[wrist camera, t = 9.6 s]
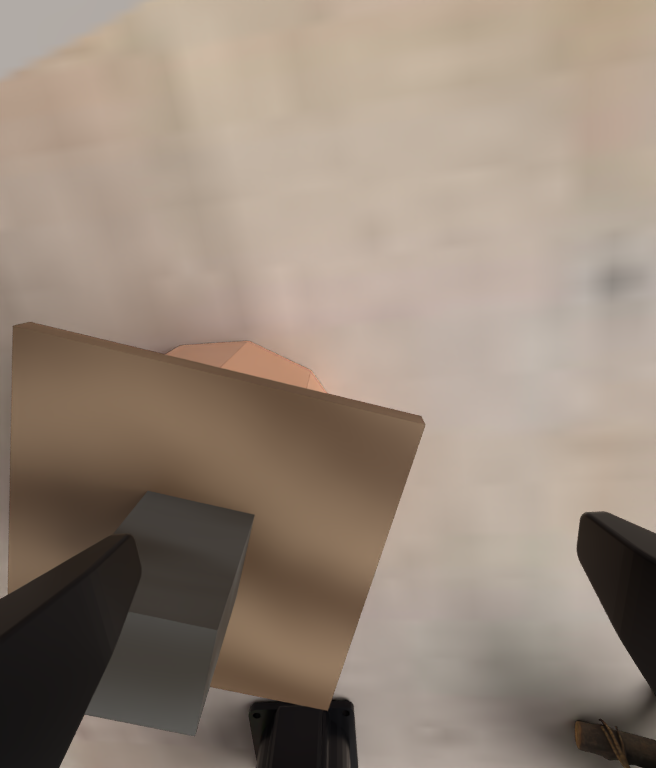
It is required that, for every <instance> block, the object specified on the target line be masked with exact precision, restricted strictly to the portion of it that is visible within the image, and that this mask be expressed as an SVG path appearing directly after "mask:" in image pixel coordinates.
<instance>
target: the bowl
mask: <svg viewBox="0 0 656 768" xmlns="http://www.w3.org/2000/svg"><path fill="white" fill-rule="evenodd" d="M165 355H170V356H174V357H178V358H182V359H186V360H190V361H194V362H199V363H203V364H207V365H211V366H215V367H219V368H224V369H228V370H232V371H236V372H240V373H244V374H248V375H253V376H257V377H261V378H265V379H269V380H273V381H277V382H282V383H286V384H290V385H294V386H298V387H302V388H307V389H311V390H315V391H319V392H323V393H327V392H326V391H325V389H324V388H323V387H322V385H321V384H320V382H319V381H318V379H317V378H316V377H315V375H314V374H313V372H312V371H311V370H309V369H307V368H305V367H303V366H301V365H299V364H297V363H295V362H292V361H290V360H288V359H286V358H284V357H282V356H280V355H278V354H276V353H273V352H271V351H269V350H267V349H265V348H263V347H261V346H259V345H256V344H254V343H252V342H250V341H237V342H222V343H207V344H192V345H180V346H179V347H177V348H175V349H173V350H172V351H170V352H168V353H167V354H165Z"/></svg>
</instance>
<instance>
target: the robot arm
mask: <svg viewBox="0 0 656 768" xmlns="http://www.w3.org/2000/svg"><path fill="white" fill-rule="evenodd" d="M577 555H578V558H579V561H580V563H581V565H582V567H583V569H584V571H585V573H586V575H587V577H588V579H589V581H590V582H591V584H592V586H593V588H594V590H595V592H596V594H597V596H598V598H599V600H600V602H601V604H602V606H603V608H604V610H605V612H606V614H607V616H608V618H609V620H610V622H611V623H612V625H613V627H614V629H615V631H616V633H617V634H618V636H619V638H620V640H621V641H622V643H623V645H624V646H625V648H626V650H627V651H628V653H629V654H630V656H631V657H632V659H633V661H634V662H635V664H636V665H637V667H638V668H639V670H640V672H641V673H642V675H643V676H644V678H645V679H646V681H647V683H648V684H649V686H650V687H651V689H652V690H653V692H654V694H655V695H656V533H654V532H651V531H649V530H647V529H645V528H642V527H640V526H638V525H635V524H633V523H631V522H629V521H626V520H624V519H622V518H619V517H617V516H615V515H613V514H610V513H608V512H604V511H601V512H585V513H584V514H582V516H581V518H580V523H579V532H578V540H577ZM141 574H142V566H141V562H140V558H139V553H138V549H137V545H136V541H135V538H134V537H133V535H131V534H112V535H109V536H108V537H106V538H104V539H102V540H101V541H99V542H97V543H96V544H94V545H92V546H90V547H89V548H87V549H85V550H84V551H82V552H80V553H78V554H77V555H75V556H73V557H72V558H70V559H68V560H66V561H65V562H63V563H61V564H60V565H58V566H56V567H54V568H53V569H51V570H49V571H48V572H46V573H44V574H42V575H41V576H39V577H37V578H36V579H34V580H32V581H30V582H29V583H27V584H25V585H24V586H22V587H20V588H18V589H17V590H15V591H13V592H11V593H10V594H8V595H6V596H5V597H3V598H1V599H0V768H59V767H60V765H61V763H62V761H63V759H64V756H65V754H66V752H67V750H68V748H69V746H70V744H71V742H72V740H73V737H74V735H75V733H76V731H77V729H78V727H79V725H80V723H81V721H82V719H83V716H84V714H85V712H86V710H87V708H88V706H89V704H90V702H91V700H92V697H93V695H94V693H95V691H96V689H97V687H98V685H99V683H100V681H101V679H102V676H103V674H104V672H105V670H106V668H107V666H108V664H109V661H110V659H111V657H112V655H113V652H114V650H115V647H116V645H117V642H118V639H119V637H120V634H121V631H122V629H123V626H124V623H125V620H126V618H127V615H128V612H129V609H130V607H131V604H132V601H133V598H134V596H135V593H136V590H137V587H138V585H139V582H140V579H141ZM249 720H250V726H251V731H252V737H253V743H254V748H255V754H256V760H257V765H256V768H358V757H357V744H356V730H355V717H354V706H353V704H352V703H351V702H349V701H331V703H330V706H329V709H328V711H327V710H322V709H317V708H312V707H307V706H302V705H297V704H292V703H287V702H280V703H255V704H253V705H251V707H250V711H249Z"/></svg>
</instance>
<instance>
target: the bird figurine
mask: <svg viewBox="0 0 656 768" xmlns="http://www.w3.org/2000/svg"><path fill="white" fill-rule="evenodd" d="M600 720H601V721H602V723H603V725H602V724H590V723H586V722H582V721H577V722H576V723H575V740H576V745H577V747H578V749H580V750H583V751H587V752H591V753H595V754H598V755H600V756H603V757H604V758H606V759H608V760H619V761H620V763H621V764H622V766H623V767H624V768H630V766H629V765H636V766H639V767H642V768H656V740H653V739H649V738H645V737H641V736H638V735H635V734H630V733H626V732H622V731H618V729H617V727H616V726H615V727H616V729H617V730H615V729H612V728H609V726H608V725H607V724H606V723H605V722H604V721H603V720H602V719H599V721H600Z"/></svg>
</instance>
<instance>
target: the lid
mask: <svg viewBox="0 0 656 768" xmlns="http://www.w3.org/2000/svg"><path fill="white" fill-rule="evenodd" d="M424 428H425V423H424V421H423V419H422V417H421V416H419V415H415V414H410V413H406V412H402V411H398V410H394V409H390V408H385V407H381V406H377V405H373V404H369V403H365V402H361V401H356V400H352V399H348V398H344V397H340V396H336V395H331V394H327V393H323V392H319V391H315V390H311V389H307V388H302V387H298V386H294V385H290V384H286V383H282V382H277V381H273V380H269V379H265V378H261V377H257V376H253V375H248V374H244V373H240V372H236V371H232V370H228V369H224V368H219V367H215V366H211V365H207V364H203V363H199V362H194V361H190V360H186V359H182V358H178V357H174V356H170V355H165V354H161V353H157V352H153V351H149V350H145V349H140V348H136V347H132V346H128V345H124V344H120V343H116V342H111V341H107V340H103V339H99V338H95V337H91V336H86V335H82V334H78V333H74V332H70V331H66V330H62V329H57V328H53V327H49V326H45V325H41V324H37V323H33V322H28V323H23V324H18V325H14V326H13V347H12V399H11V451H10V503H9V555H8V594H10V593H11V592H13V591H15V590H17V589H18V588H20V587H22V586H24V585H25V584H27V583H29V582H30V581H32V580H34V579H36V578H37V577H39V576H41V575H42V574H44V573H46V572H48V571H49V570H51V569H53V568H54V567H56V566H58V565H60V564H61V563H63V562H65V561H66V560H68V559H70V558H72V557H73V556H75V555H77V554H78V553H80V552H82V551H84V550H85V549H87V548H89V547H90V546H92V545H94V544H96V543H97V542H99V541H101V540H102V539H104V538H106V537H108V536H109V535H112V534H131V535H133V537H134V538H135V541H136V545H137V549H138V553H139V558H140V562H141V566H142V574H141V579H140V582H139V585H138V587H137V590H136V593H135V596H134V598H133V601H132V604H131V607H130V609H129V612H128V615H127V618H126V620H125V623H124V626H123V629H122V631H121V634H120V637H119V639H118V642H117V645H116V647H115V650H114V652H113V655H112V657H111V659H110V661H109V664H108V666H107V668H106V670H105V672H104V674H103V676H102V679H101V681H100V683H99V685H98V687H97V689H96V691H95V693H94V695H93V697H92V700H91V702H90V704H89V706H88V708H87V710H86V712H85V714H84V715H89V716H94V717H100V718H105V719H110V720H115V721H120V722H125V723H130V724H135V725H140V726H145V727H150V728H155V729H160V730H165V731H170V732H176V733H181V734H186V735H191V736H195V734H196V731H197V727H198V724H199V721H200V717H201V714H202V711H203V707H204V704H205V701H206V697H207V694H208V691H209V687H214V688H218V689H223V690H228V691H233V692H238V693H243V694H248V695H253V696H258V697H263V698H268V699H273V700H277V701H282V702H287V703H292V704H297V705H302V706H307V707H312V708H317V709H322V710H327V711H328V709H329V706H330V703H331V700H332V697H333V694H334V691H335V688H336V685H337V682H338V680H339V677H340V674H341V671H342V668H343V665H344V662H345V659H346V656H347V653H348V650H349V647H350V644H351V641H352V639H353V636H354V633H355V630H356V627H357V624H358V621H359V618H360V615H361V612H362V609H363V606H364V603H365V600H366V598H367V595H368V592H369V589H370V586H371V583H372V580H373V577H374V574H375V571H376V568H377V565H378V562H379V559H380V557H381V554H382V551H383V548H384V545H385V542H386V539H387V536H388V533H389V530H390V527H391V524H392V521H393V519H394V516H395V513H396V510H397V507H398V504H399V501H400V498H401V495H402V492H403V489H404V486H405V483H406V480H407V478H408V475H409V472H410V469H411V466H412V463H413V460H414V457H415V454H416V451H417V448H418V445H419V442H420V439H421V437H422V434H423V431H424Z"/></svg>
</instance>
